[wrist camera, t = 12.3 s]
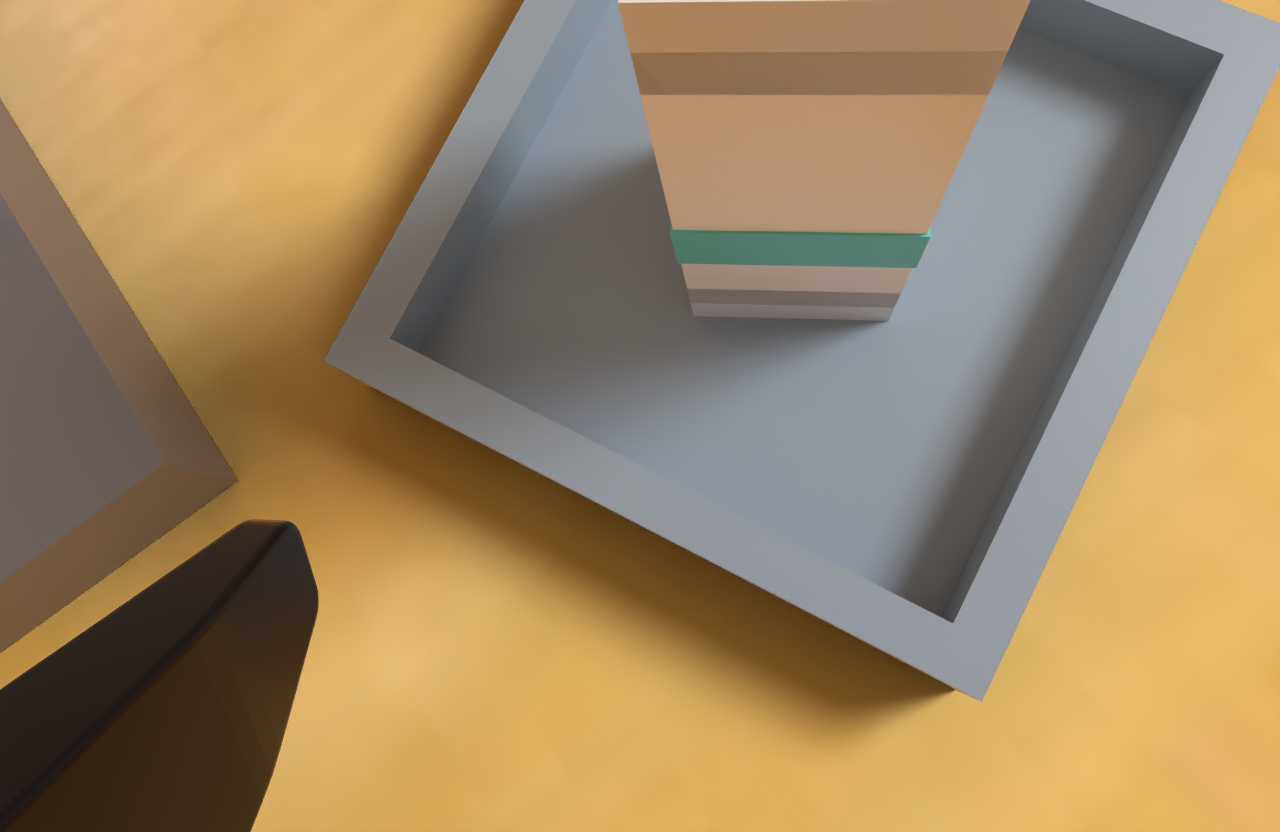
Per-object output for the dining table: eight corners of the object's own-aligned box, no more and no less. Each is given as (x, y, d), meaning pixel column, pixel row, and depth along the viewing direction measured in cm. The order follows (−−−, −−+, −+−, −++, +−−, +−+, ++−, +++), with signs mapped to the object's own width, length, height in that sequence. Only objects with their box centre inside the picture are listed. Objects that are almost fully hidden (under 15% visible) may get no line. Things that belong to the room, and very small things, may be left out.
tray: (956, 690, 21) (982, 701, 19) (367, 385, 24) (323, 360, 22) (1239, 90, 23) (1297, 29, 20) (657, -138, 25) (645, -217, 23)
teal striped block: (891, 323, 22) (1036, 3, 10) (691, 318, 23) (613, 7, 11) (894, 134, 23) (1035, -368, 11) (700, 133, 23) (635, -348, 12)
